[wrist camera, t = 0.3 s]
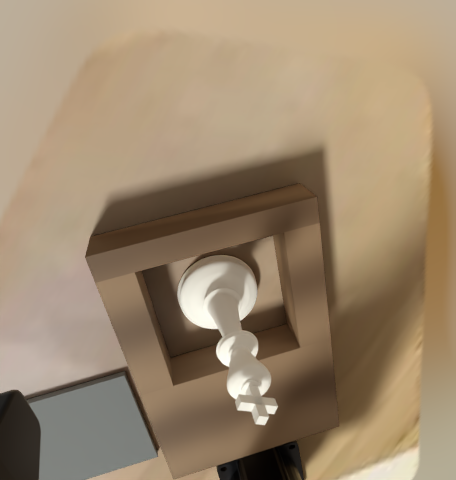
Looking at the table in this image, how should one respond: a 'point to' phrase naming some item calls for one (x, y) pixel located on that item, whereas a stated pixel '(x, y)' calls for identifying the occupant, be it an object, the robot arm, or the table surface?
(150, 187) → the table surface
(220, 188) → the table surface
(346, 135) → the table surface
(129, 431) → the rubber mat
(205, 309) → the chess piece
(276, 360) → the brown slab with hole
